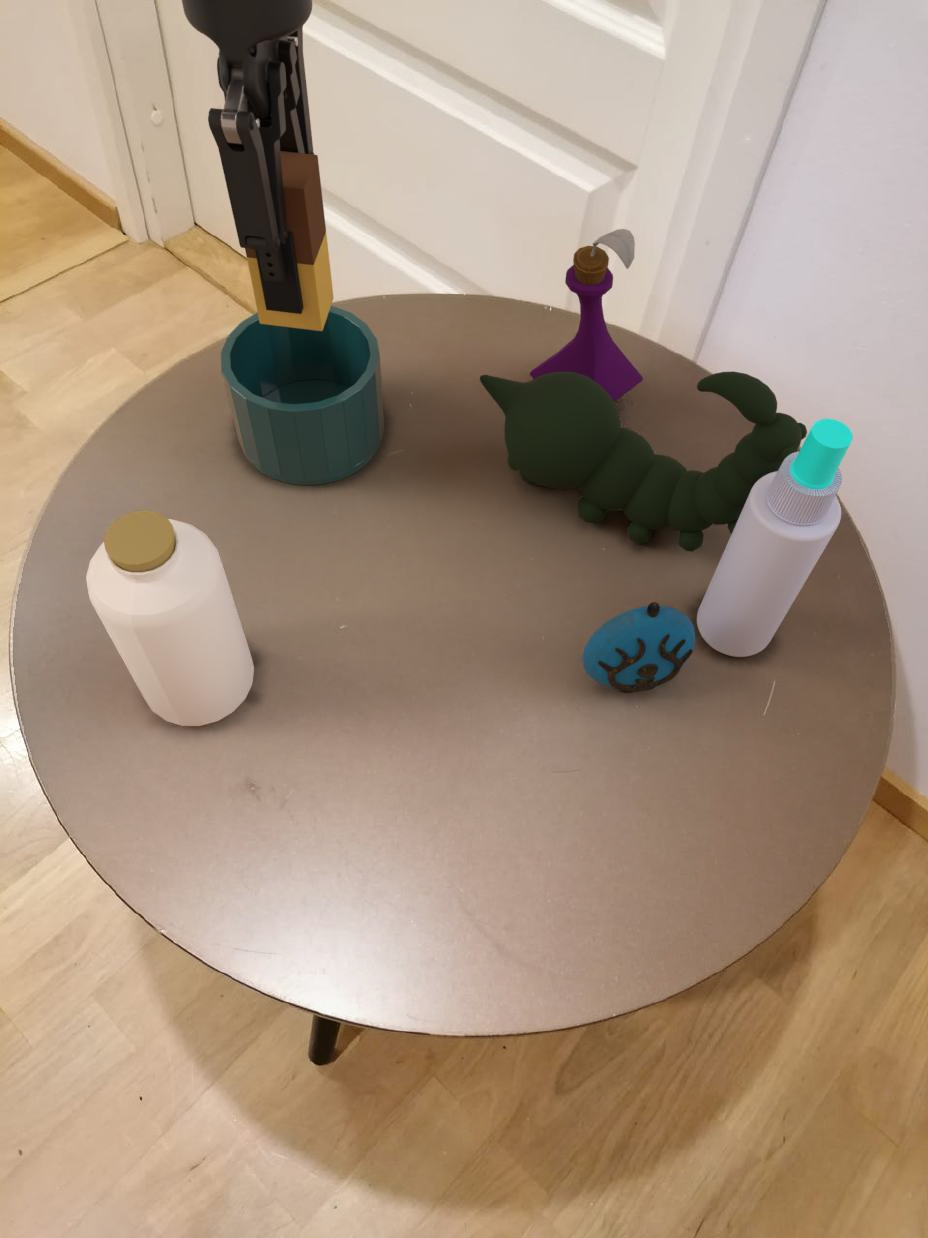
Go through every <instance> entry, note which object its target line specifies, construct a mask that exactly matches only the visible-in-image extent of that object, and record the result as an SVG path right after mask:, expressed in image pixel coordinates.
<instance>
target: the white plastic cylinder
mask: <svg viewBox="0 0 928 1238" xmlns="http://www.w3.org/2000/svg"><path fill="white" fill-rule="evenodd" d="M85 581H86V586H87V592H88V598H89V602H90V603H91V605H92V607H93V609H94V610H95V612H96V614H97V616H98V617H99V620H100V621H101V623H102V625H103V627H104V629H105V630H106V632H107V634H108V636H109V637H110V639H111V641H112V643H113V644H114V647H115V649H116V650H117V652H118V654H119V656H120V657H121V659H122V661H123V663H124V664H125V666H126V668H127V671H128V673H129V674H130V675H131V677H132V679H133V681H134V683H135V685H136V687H137V688H138V690H139V692H140V694H141V696H142V697H143V699H144V701H145V702H146V704H147V705H148V707H149V708H150V710H151V711H152V712H153V713H154V714H156V715H157V716H158V717H160V718H161V719H163V720H164V721H165V722H168V723H171V724H174V725H177V726H181V727H202V726H205V725H210V724H213V723H216V722H219V721H221V720H222V719H224V718H225V717H227V716H229V715H231V714H232V713H235V711H236V710H237V709H238V708H239V706H240V705H241V704H243V702H244V701H245V700H247V697H248V695H249V692H250V690H251V688H252V686H253V683H254V673H255V665H254V661H253V657H252V654H251V651H250V648H249V645H248V642H247V641H248V640H247V638H246V635H245V632H244V628H243V625H242V622H241V618H240V616H239V613H238V610H237V609H238V608H237V606H236V602H235V600H234V596H233V593H232V590H231V587H230V583H229V581H228V578H227V575H226V571H225V568H224V565H223V562H222V558H221V556H220V553H219V550H218V549H217V547H216V546H215V544H214V543H213V542H212V541H211V539H210V538H209V537H208V535H207V534H206V533H205V532H203V531H202V530H201V529H199V528H198V527H196V526H194V525H192V524H190V523H188V522H183V521H180V520H177V519H172V518H168V517H166V516H165V515H163V514H161V513H159V512H156V511H152V510H136V511H131V512H128V513H126V514H124V515H122V516H119V517H118V518H117V519H116V520H115V521H113V522H112V523H111V524H110V526H109V527H108V528H107V530H106V532H105V534H104V539H103V541H102V543H101V544H100V545H99V546H98V548H97V549H96V551H95V553H94V554H93V556H92V557H91V559H90V560H89V564H88V567H87V573H86V576H85Z"/></svg>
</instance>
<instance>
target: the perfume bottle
mask: <svg viewBox="0 0 928 1238" xmlns="http://www.w3.org/2000/svg"><path fill="white" fill-rule="evenodd" d="M599 244H602V245H603V246H607V247H608V248H609V249H611V250H612V251H613V252H614V253H615V254H616V255H617V256H618V258H619V259H620V261H621V262H622V264H623V265H624V267H625V268H626V269H627V270H629V269H630V267H631V265H632V264H633V262H634V260H635V250H636V249H635V246H636V241H635V236H634V234H633V233H632V232H631V230H629V229H626V228H619V229H615V230H613V231H610V232H608V233H606V234H604V235H601V236H599V237H598V238H597V239H596V240H595V241H593V242H592V245H586V246H582V247H579V248H578V249H577V250H576V251H575V252H574V253H573V258H572V259H573V260H572V261H573V262H572V265H571V266H570V267H569V268H567V270H566V272H565V279H564V280H565V281H564V282H565V285H566V286H567V288H568V289H569V291H570V292H571V293H574V294H576V296H577V297H578V301H579V307H580V308H579V312H580V315H579V316H580V319H579V324H578V330H577V332H576V334H575V336H574V337H573V338H572V339H571V340H570V341H569V342H567V344H566V345H565V344H564V346H563V347H562V348H561V349H560V350H558V351H557V352H556V353H555V354H552V355H551V356H550V357H548V358H547V359H546V360H544V361H543V362H541V363H540V364H539V365H537V366H536V367H534V368H532V370H531V371H530V372H529V375H530V377H531V378H532V380H533V379H535V378H537V377H539V376H542V375H544V374H548V373H553V372H573V373H578V374H582V375H584V376H587V377H589V378H590V379H592V380H593V381H595V382H596V383H598V384H599V385H600V386H601V387H602V388H603V389H604V390H605V391H606V392H607V393H608V394H609V395H610V397H611V398H612V400H613V402H614V403H615V402H617V401H618V400H620V399H621V398H622V397H623V396H625V395H626V394H627V393H629V392H630V391H631V390H632V389H634V388H635V387H637V386H638V385H639V384H640V383H642V382H643V380H644V377H643V376H642V374H641V373H640V372H639V370H638V369H637V368H636V367H635V366H634V364H633V363H632V362H631V361H630V360H629V359H628V358H627V356H626V355H625V354H624V352H623V351H622V350H621V349H620V347H618V345H617V344H616V343H615V342H614V340H613V338H612V336H611V335H610V334H611V333H609V331H608V328H607V323H606V320H605V316H604V309H603V296H604V295H606V294H607V293H608V292H609V291H610V290H611V289H612V288H613V286H614V285H613V284H614V275H613V273H612V271H611V270H610V268H609V263H610V256H608V254H607V251H606V250H604V249H603V248H601V247H599V246H598V245H599Z"/></svg>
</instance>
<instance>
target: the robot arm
mask: <svg viewBox="0 0 928 1238" xmlns="http://www.w3.org/2000/svg"><path fill="white" fill-rule="evenodd" d="M181 4H182V8H183V12H184V16H185V18H186V20H187V21H188V23H189V24H190V25H191V26H192V27H193V29H195V30H196V31H197V32H199V33H200V34H202V35H204V36H205V37H207V38H208V39H209V40H211V41H212V42H213V43H214V44H215V46H216V47H217V48H218V57H217V60H216V71H217V77H218V78H217V79H218V85H219V87H220V89H221V91H222V92H223V96H224V105H223V108H216V107H211V108H210V109H209V111H208V116H207V123H208V127H209V130H210V132H211V134H212V137H213V139H214V141H215V143H216V146H217V148H218V153H219V159H220V162H221V165H222V166H221V167H222V172H223V175H224V180H225V185H226V190H227V195H228V199H229V203H230V207H231V212H232V216H233V221H234V226H235V230H236V234H237V239H238V244H239V247H240V248H241V249H245V248H249V249H255V252H256V258H257V263H258V268H259V274H260V279H261V284H262V290H263V295H264V300H265V305H266V310H271V311H280V312H288V313H296V314H302V311H303V308H304V307H303V300H302V294H301V287H300V280H299V273H298V266H297V259H296V253H295V246H294V239H293V232H289V231H287V226H286V214H285V202H284V190H283V178H282V166H281V154H280V151H285V152H294V153H303V154H312V155H315V152H314V144H313V135H312V124H311V123H312V122H311V115H310V105H309V96H308V85H307V76H306V68H305V58H304V57H305V56H304V35H303V34H304V30H303V27H304V25H305V24H306V23H307V21H308V20H309V19H310V16H311V15H312V11H313V0H181Z"/></svg>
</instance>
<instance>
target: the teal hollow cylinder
mask: <svg viewBox="0 0 928 1238" xmlns="http://www.w3.org/2000/svg"><path fill="white" fill-rule="evenodd" d="M221 348H222V349H221V351H220V372H221V375H222V379H223V383H224V388H225V391H226V395H227V399H228V403H229V407H230V411H231V416H232V419H233V423H234V428H235V431H236V436H237V440H238V442H239V444H240V448H241V450H242V452H243V455H244V456H245V457H246V459H247V461H248V462H249V463H250V464H251V465H252V466H253V467H254V468H255V469H256V470H258V471H259V472H260V473H262V474H263V475H265V476H267V477H269V478H271V479H274V480H275V481H279V482H282V483H285V484H291V485H298V486H299V485H300V486H316V485H317V486H318V485H325V484H329V483H333V482H336V481H340V480H342V479H345V478H347V477H349V476H352V475H353V474H354V473H357V472H358V471H360V470H361V469H362V468H364V467H365V466H366V465H367V464H368V463H369V462H370V461H371V460H372V459H373V458H374V456H375V455H376V454H377V452H378V450H379V449H380V447H381V444H382V442H383V437H384V427H385V420H384V419H385V418H384V417H385V416H384V402H383V400H384V399H383V384H382V367H381V354H380V348H379V342H378V338H377V336H376V335H375V334H374V332H373V331H372V329H371V328H370V327H369V324H367V323H366V322H365V321H364V320H362V319H361V318H360V317H358V316H357V315H355V314H354V313H353V312H351V311H348V310H345V309H343V308H340V307H338V306H334V305H332V304H331V307H330V310H329V313H328V316H327V319H326V322H325V325H324V328H323V331H316V330H308V329H300V328H292V327H283V326H275V325H267V324H260V322H259V317H258V312H255V313H254V314H252V315H250V316H249V317H247V318H246V319H244V320H242V321H241V322H239V324H238V325H236V327H234V329H232V331H231V332H230V333H229V334H228V336H226V339H225V342H224V343H223V346H222V347H221Z"/></svg>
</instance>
